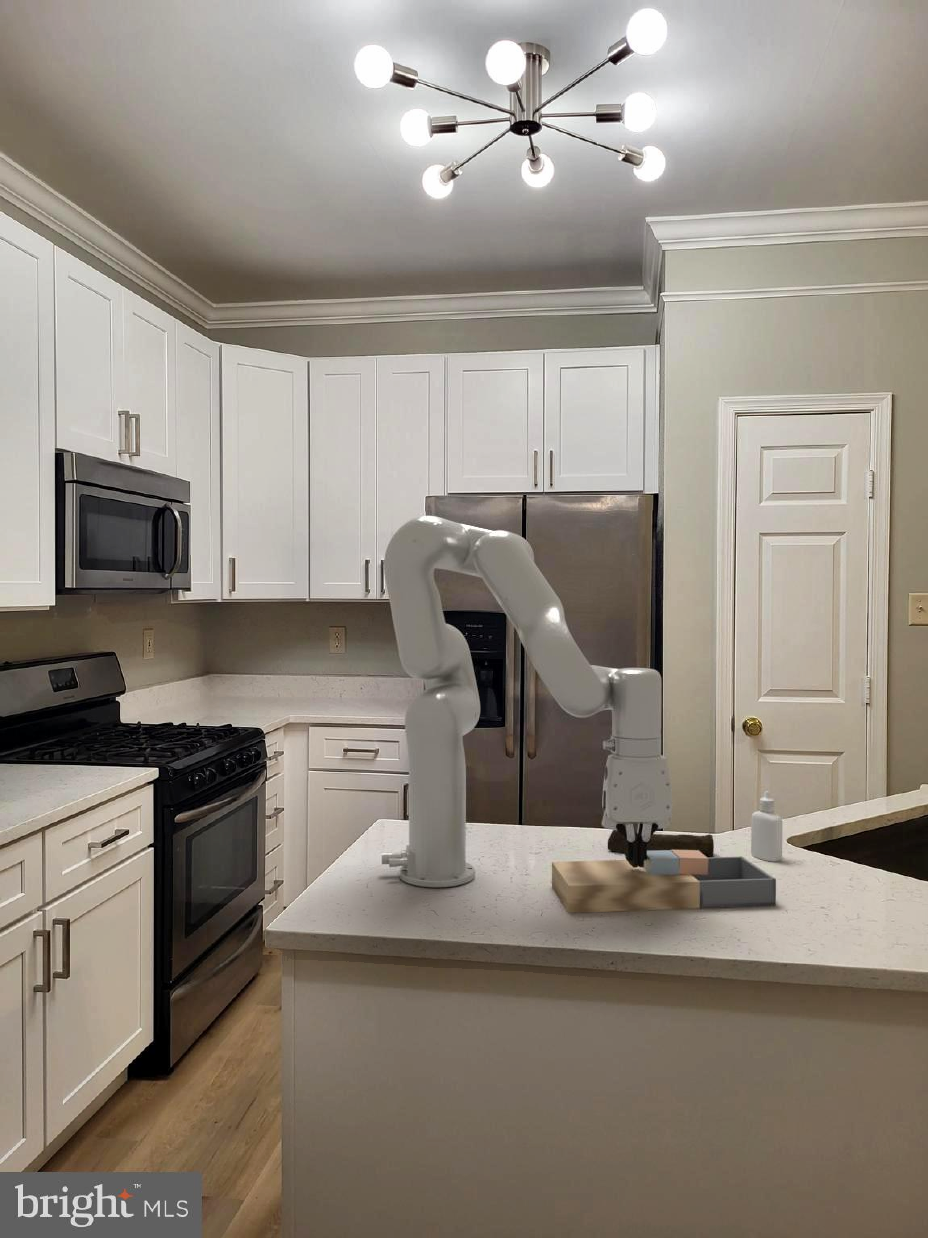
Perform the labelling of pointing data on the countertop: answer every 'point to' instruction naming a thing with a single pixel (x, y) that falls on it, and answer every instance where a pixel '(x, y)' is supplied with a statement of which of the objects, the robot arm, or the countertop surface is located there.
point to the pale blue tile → (661, 863)
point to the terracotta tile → (692, 862)
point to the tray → (735, 884)
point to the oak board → (621, 887)
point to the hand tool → (666, 842)
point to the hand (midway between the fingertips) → (635, 864)
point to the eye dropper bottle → (766, 831)
